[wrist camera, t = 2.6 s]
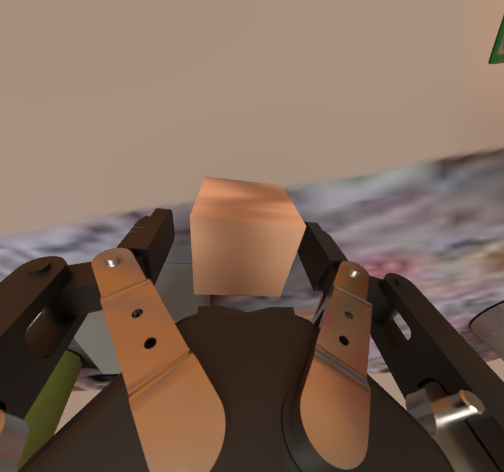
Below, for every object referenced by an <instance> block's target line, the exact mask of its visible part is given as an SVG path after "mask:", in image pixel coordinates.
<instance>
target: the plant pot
mask: <svg viewBox="0 0 504 472" xmlns="http://www.w3.org/2000/svg"><path fill="white" fill-rule="evenodd" d="M81 366H82V363H81V359H80V357H79V356H78V355H77V354H75V353H74V352H71V351H68V350H66V351H65V353H64V354H63V356H62V358H61V359H60V361H59V363H58V364H57V366H56V367H55V369H54V371H53V372H52V374H51V376H50V377H49V379H48V381H47V382H46V384H45V386H44V387H43V389H42V390H41V392H40V394H39V395H38V397H37V399H36V400H35V402H34V404H33V405H32V407H31V409H30V410H29V412H28V413H27V415H26V417H25V418H24V420H25V421H26V422H27V424H28V427H29V433H28V438H27V441H26V444H25V446H24V448H23V453H22V456H21V458H20V460H19V461H18V467H17V471H18V470H19V469H20V468H21V467H22V466H23V465H24V464H25V463H26V461H27V460H28V459H29V458H30V457H31V456H33V455H34V454H35V453H36V452H37V451H38V450H39V449H40V448H41V447H42V446H43V445H44V444H45V443H46V442H47V441H48V440H49V439H51V438H52V437H53V436H54V433H55V431H56V428H57V426H58V423H59V421H60V418H61V416H62V413H63V411H64V409H65V406H66V404H67V401H68V399H69V396H70V394H71V391H72V389H73V386H74V384H75V381H76V379H77V376H78V374H79V371H80V369H81Z"/></svg>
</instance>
